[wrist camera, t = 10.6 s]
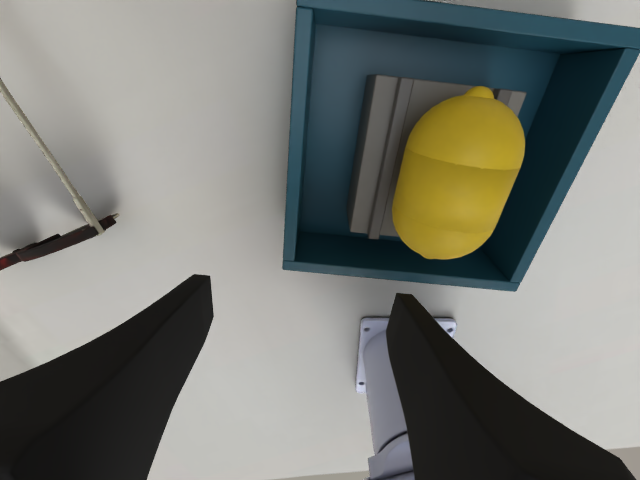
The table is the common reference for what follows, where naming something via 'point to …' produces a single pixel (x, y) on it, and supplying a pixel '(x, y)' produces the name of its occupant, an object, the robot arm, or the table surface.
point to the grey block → (394, 143)
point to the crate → (452, 67)
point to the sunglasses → (94, 225)
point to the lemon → (457, 174)
